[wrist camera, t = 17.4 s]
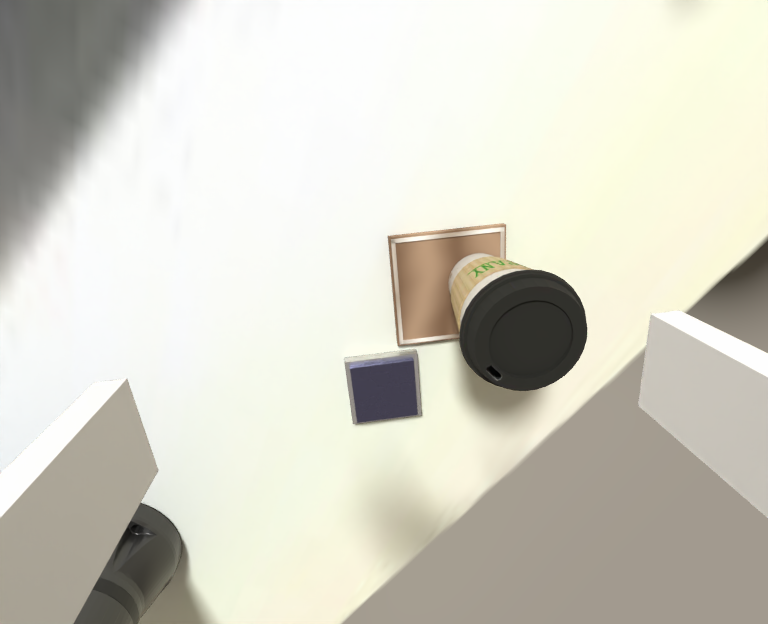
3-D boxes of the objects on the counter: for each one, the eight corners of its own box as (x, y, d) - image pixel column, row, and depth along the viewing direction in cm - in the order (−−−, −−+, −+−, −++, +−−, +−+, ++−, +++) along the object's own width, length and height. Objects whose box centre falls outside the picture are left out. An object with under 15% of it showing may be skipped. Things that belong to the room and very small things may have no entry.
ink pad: (352, 418, 52) (353, 427, 50) (344, 357, 49) (344, 365, 48) (419, 409, 53) (422, 417, 51) (415, 348, 50) (418, 355, 48)
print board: (397, 342, 49) (398, 346, 48) (387, 236, 45) (388, 237, 44) (502, 329, 50) (505, 333, 49) (503, 223, 46) (506, 225, 45)
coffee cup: (541, 280, 47) (622, 338, 33) (472, 342, 49) (520, 420, 35) (482, 214, 44) (542, 247, 30) (411, 283, 46) (437, 344, 32)
